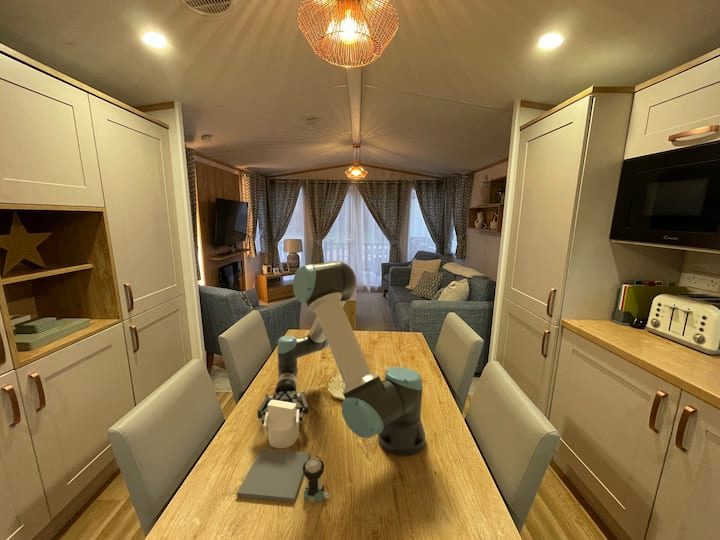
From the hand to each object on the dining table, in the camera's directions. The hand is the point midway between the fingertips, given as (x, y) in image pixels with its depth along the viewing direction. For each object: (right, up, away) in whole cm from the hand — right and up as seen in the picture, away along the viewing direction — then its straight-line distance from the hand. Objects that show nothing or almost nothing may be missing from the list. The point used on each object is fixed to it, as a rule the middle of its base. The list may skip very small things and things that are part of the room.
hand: (281, 427), depth 93 cm
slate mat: (+1, -9, -8) cm, 12 cm away
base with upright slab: (-1, -6, +6) cm, 9 cm away
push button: (+13, -10, -15) cm, 22 cm away
